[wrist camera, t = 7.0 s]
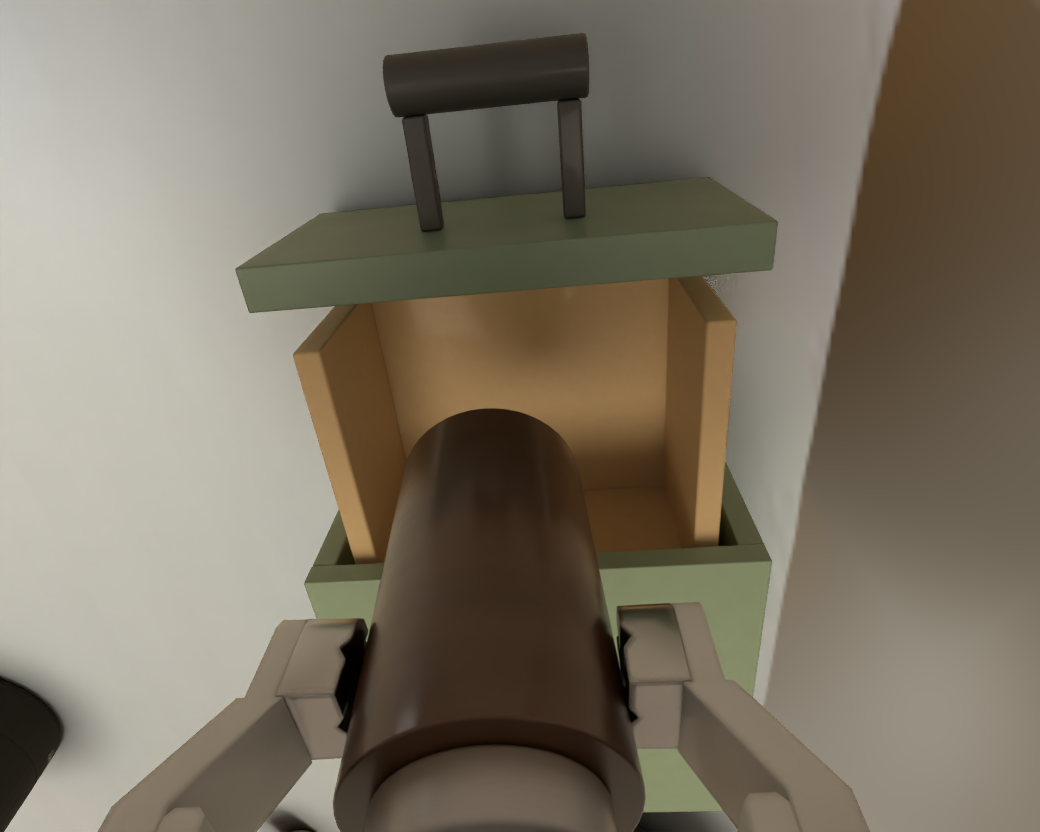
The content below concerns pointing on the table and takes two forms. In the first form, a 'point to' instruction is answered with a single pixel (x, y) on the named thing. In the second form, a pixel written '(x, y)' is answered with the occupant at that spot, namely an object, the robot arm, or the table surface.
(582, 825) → the brown cylinder
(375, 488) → the drawer
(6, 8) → the table surface
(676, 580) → the cabinet
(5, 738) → the pen holder
